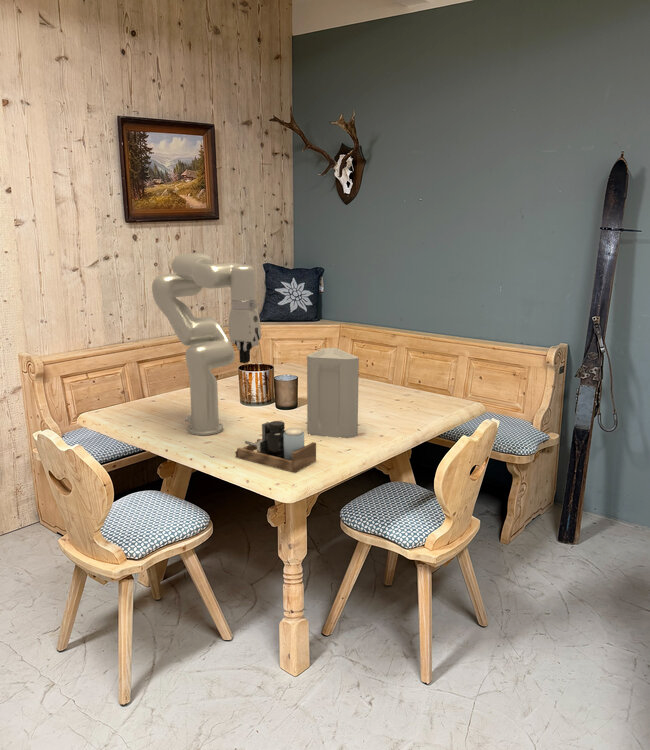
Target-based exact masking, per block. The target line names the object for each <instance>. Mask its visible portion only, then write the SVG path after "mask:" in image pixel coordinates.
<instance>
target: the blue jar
mask: <svg viewBox="0 0 650 750" xmlns="http://www.w3.org/2000/svg"><path fill="white" fill-rule="evenodd" d="M284 430H285V432H284V459H287V460H291V461H292V453H293V452H295V451H297V450H299V449H301V448H303V447H305V432H304V431H303V429H302V428H300V427H288V428H286V429H284Z"/></svg>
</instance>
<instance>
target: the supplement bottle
mask: <svg viewBox="0 0 650 750" xmlns="http://www.w3.org/2000/svg"><path fill="white" fill-rule="evenodd" d="M285 428H286V427H285V422H284V421H281V420H274V421H273V420H272V421H270V423H269V431H268V432H267V434H266V450H267V455H271V456H275V457H279V458H283V459H284V432H285V430H286V429H285Z"/></svg>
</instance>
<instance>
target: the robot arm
mask: <svg viewBox="0 0 650 750" xmlns="http://www.w3.org/2000/svg"><path fill="white" fill-rule="evenodd" d="M171 270H172V271H173V273H165V274H161V275H159V276H156V277H155V278H154V279H153V281H152V284H151V294H152V297H153V300H154V302H155V304H156V306H157V308H159V310H160V311H161V312H162V314H163V315H164V316H165V317H166V318H167V320H168V321H169V324H170V325H171V327H172V329H173V332H174V334H175V336H176V337H177V338H178V341H180V343H181V344H182V345H183V346H187V349H186V351H185V361H186V366H187V371H188V375H189V376H188V377H189V390H190V392H189V393H190V394H189V395H190V413H189V414H187V416H186V417H185V419H184V421H185V422H188V423H189V425H188V426H187V432H188V433H189V434H191V435H196V436H209V435H210V436H211V435H215V434H218V433H221V432H222V431H224V425H223V424H222V423H221V422H220V419H219V417H220V415H219V392H218V389H219V387H218V380H217V378H216V376H215V374H213V372H212V370H213V369H218V368H223V367H227V366H230V365H232V364H233V363H234V361H235V357H236V353H235V349H234V346H233V344H234V345H235V346H236V347H237V351H239V363H240V364H247V363H249V362H251V350H252V348H253V347H256V346H259V344H260V343H259V341H260V340H261V339H262V328H261V327H262V326H261V320H260V313H259V310H258V309H256V308H257V307H258V303H257V302H256V277H255V276H256V274H255V273H256V271H255V267H253V266H252V265H248V264H241V263H237V262H231V263H230V262H229V263H227V262H226V263H214V260H213V258H212V257H211V256H210V255H209V254H208V253H203V252H198V253H197V252H196V253H182V254H179V255H177V256H176V257H174V258H173V260H172V262H171ZM204 288H205V289H222V288H230V302H231V303H230V304H231V305H230V306H231V309H230V310H229V314H228V315H229V316H228V335H227V334H226V332H225V330H224V329H223V326H222V325H221V323H220V322H219V321H218V320H217V319H216V318H215V317H212V316H202V317H201V316H200V317H196V316H195V315H194V314H193V313H192V311H191V309H190V307H188V305H187V304H185V303H184V302H183V301H181V300H180V299H179V298H181V297H182V298H183V297H193V296H196V295H198V294H199V293H200V292H201V291H202V290H203V289H204ZM228 336H229V337H228Z"/></svg>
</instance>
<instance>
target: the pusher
mask: <svg viewBox="0 0 650 750" xmlns="http://www.w3.org/2000/svg"><path fill="white" fill-rule="evenodd" d="M270 422H271V421H270ZM270 422H269V421H266V422H265V423H262V424H261V435H262V436H261V437H262V438H261V439H262V440H260V441H258V442H257V441H256V442H257V443H255V442H253V441H252V442H251V441H248V440H244V444H245V445H247V446H248V445H252V446H256V447H257V450H256V452H259V453H263V454H267V450H266V434H267V432H268V431H269V423H270Z"/></svg>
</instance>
